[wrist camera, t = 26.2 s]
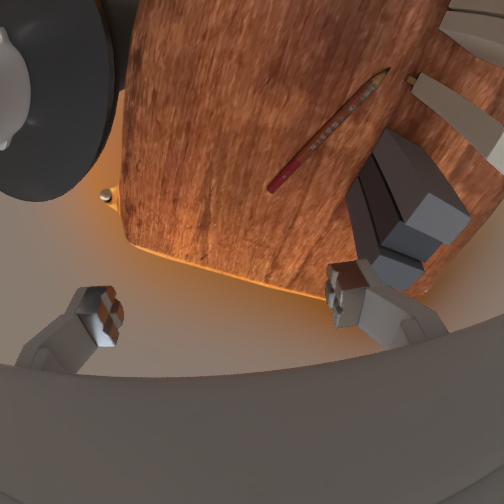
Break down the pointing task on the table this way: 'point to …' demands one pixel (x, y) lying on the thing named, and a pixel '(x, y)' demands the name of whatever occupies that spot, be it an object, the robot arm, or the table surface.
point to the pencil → (328, 130)
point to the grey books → (402, 210)
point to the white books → (476, 29)
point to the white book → (464, 119)
